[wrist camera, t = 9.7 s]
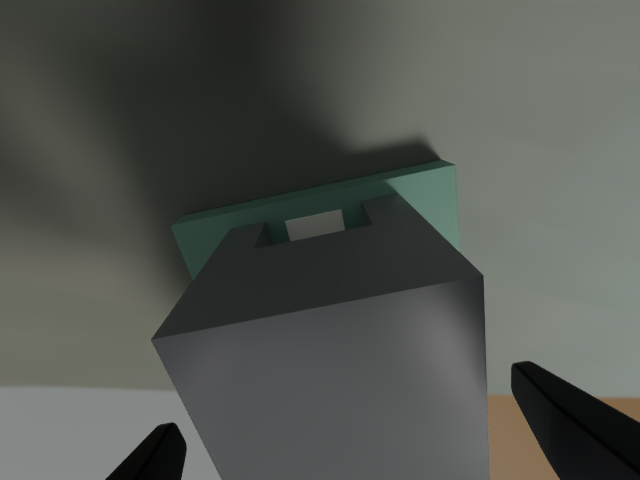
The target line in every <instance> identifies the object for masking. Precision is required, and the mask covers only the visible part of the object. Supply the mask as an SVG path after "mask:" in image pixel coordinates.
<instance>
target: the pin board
mask: <svg viewBox="0 0 640 480" xmlns="http://www.w3.org/2000/svg"><path fill="white" fill-rule="evenodd" d="M395 193H399V194H400V195H401V196H402V197H403V198H404V199H405V200H406V201H407V202H408V203H409V204H410V205H411V206H412V207H413V208H414V209H415V210H416V211H418V212H419V213H420V214H421V215H422V216H423V217H424V218H425V219H426V220H427V221H428V222H429V223H430V224H431V225H432V226H433V227H434V228H435V229H436V230H437V231H438V232H439V233H440V234H441V235H442V236H443V237H444V238H445V239H446V240H447V241H448V242H449V243H450V244H452V245H453V246H454V247H455V248H456V249H457V250H458V251H459V252H460V241H459V224H458V206H457V188H456V170H455V165H454V164H452V163H449V162H447V161H444V160H438V161H434V162H429V163H425V164H420V165H415V166H411V167H406V168H401V169H397V170H392V171H387V172H383V173H378V174H373V175H369V176H364V177H359V178H355V179H350V180H345V181H341V182H336V183H331V184H327V185H322V186H318V187H313V188H308V189H304V190H299V191H294V192H290V193H285V194H280V195H276V196H271V197H266V198H262V199H257V200H252V201H248V202H243V203H238V204H234V205H229V206H225V207H220V208H215V209H211V210H206V211H201V212H197V213H192V214H187V215H183V216H182V217H180V218H179V219H178V220H177V221H175V222H174V223H173V224H172V225H170V227H171V229H172V232H173V234H174V237H175V239H176V241H177V244H178V246H179V249H180V251H181V254H182V256H183V259H184V261H185V263H186V266H187V268H188V271H189V273H190V276H191V278H192V281H193V280H194V279H195V277H196V276H197V274H198V273H199V272H200V270H201V269H202V267H203V266H204V265H205V263H206V262H207V260H208V259H209V258H210V256H211V255H212V253H213V252H214V251H215V249H216V248H217V246H218V245H219V244H220V242H221V241H222V239H223V238H224V237H225V235H226V234H227V232H228V231H229V230H230V228H235V227H240V226H245V225H249V224H254V223H259V222H263V221H266V224H267V227H268V231H269V234H270V237H271V241H272V244H273V245H276V244H281V243H286V242H290V241H295V240H300V239H305V238H310V237H315V236H319V235H324V234H329V233H334V232H339V231H343V230H348V229H353V228H358V227H363V226H365V221H364V216H363V210H362V204H361V201H362V200H367V199H372V198H376V197H381V196H386V195H390V194H395Z"/></svg>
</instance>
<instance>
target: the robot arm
mask: <svg viewBox="0 0 640 480" xmlns="http://www.w3.org/2000/svg"><path fill="white" fill-rule="evenodd" d="M511 389H512V393H513V395H514V397H515V399H516V401H517V403H518V405H519V407H520V409H521V411H522V413H523V415H524V416H525V418H526V420H527V422H528V424H529V426H530V428H531V430H532V432H533V433H534V435H535V437H536V439H537V441H538V443H539V445H540V447H541V449H542V451H543V452H544V454H545V456H546V458H547V460H548V461H549V463H550V464H551V466H552V468H553V469H554V471H555V473H556V474H557V476H558V477H559V478H560V480H640V422H638V421H636V420H634V419H633V418H630V417H629V416H627V415H625V414H624V413H622V412H620V411H618V410H617V409H615V408H613V407H611V406H609V405H608V404H606V403H604V402H602V401H601V400H599V399H597V398H595V397H593V396H592V395H590V394H588V393H586V392H585V391H583V390H581V389H579V388H577V387H576V386H574V385H572V384H570V383H569V382H567V381H565V380H563V379H561V378H560V377H558V376H556V375H554V374H553V373H551V372H549V371H547V370H545V369H544V368H542V367H540V366H538V365H537V364H535V363H533V362H530V361H523V362H517V363H513V364H512V367H511ZM186 450H187V448H186V442H185V440H184V438H183V436H182V434H181V432H180V430H179V428H178V426H177V425H176V424H175V423H167V424H161V425H159V426H157V427H156V428H155V429H154V430H153V431H152V432H151V433H150V434H149V435H148V436H147V437H146V438H145V439H144V440H143V441H142V442H141V443H140V445H138V446H137V448H136V449H135V450H134V451H133V452H132V453H131V454H130V455H129V456H128V457H127V458H126V459H125V460H124V461H123V462H122V463H121V464H120V465H119V466H118V467H117V468H116V469H115V470H114V471H113V472H112V473H111V474H110V475H109V476H108V477H107V478H106V480H181V477H182V472H183V467H184V462H185V456H186Z"/></svg>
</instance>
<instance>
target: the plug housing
mask: <svg viewBox="0 0 640 480" xmlns="http://www.w3.org/2000/svg"><path fill="white" fill-rule="evenodd" d="M361 204H362V210H363V216H364V221H365V226H363V227H358V228H353V229H348V230H343V231H339V232H334V233H329V234H324V235H319V236H315V237H310V238H305V239H300V240H295V241H290V242H286V243H281V244H276V245H273V244H272V241H271V237H270V234H269V231H268V227H267V224H266V221H263V222H259V223H254V224H249V225H245V226H240V227H235V228H230V230H229V231H228V232H227V234H226V235H225V237H224V238H223V239H222V241H221V242H220V244H219V245H218V246H217V248H216V249H215V251H214V252H213V253H212V255H211V256H210V258H209V259H208V260H207V262H206V263H205V265H204V266H203V267H202V269H201V270H200V272H199V273H198V274H197V276H196V277H195V279H194V280H193V281H192V283H191V284H190V286H189V287H188V288H187V290H186V291H185V293H184V294H183V295H182V297H181V298H180V300H179V301H178V303H177V304H176V305H175V307H174V308H173V310H172V311H171V312H170V314H169V315H168V317H167V318H166V319H165V321H164V322H163V324H162V325H161V326H160V328H159V329H158V331H157V332H156V333H155V335H154V336H153V338H152V339H151V341H152V343H153V345H154V347H155V349H156V351H157V353H158V355H159V357H160V359H161V360H162V362H163V364H164V366H165V368H166V370H167V372H168V374H169V376H170V378H171V380H172V382H173V384H174V386H175V388H176V390H177V392H178V394H179V396H180V398H181V400H182V402H183V404H184V406H185V408H186V410H187V412H188V414H189V416H190V418H191V420H192V422H193V424H194V426H195V428H196V430H197V432H198V434H199V436H200V438H201V439H202V441H203V444H204V445H205V448H206V449H207V451H208V453H209V455H210V457H211V459H212V461H213V463H214V465H215V467H216V469H217V471H218V473H219V475H220V477H221V479H222V480H490V479H489V445H488V412H487V379H486V346H485V313H484V280H483V275H482V274H481V273H480V272H479V271H478V270H477V269H476V268H475V267H474V266H473V265H472V264H471V263H470V262H469V261H468V260H467V259H466V258H465V257H464V256H463V255H462V254H461V253H460V252H459V251H458V250H457V249H456V248H455V247H454V246H453V245H452V244H450V243H449V242H448V241H447V240H446V239H445V238H444V237H443V236H442V235H441V234H440V233H439V232H438V231H437V230H436V229H435V228H434V227H433V226H432V225H431V224H430V223H429V222H428V221H427V220H426V219H425V218H424V217H423V216H422V215H421V214H420V213H419V212H418V211H416V210H415V209H414V208H413V207H412V206H411V205H410V204H409V203H408V202H407V201H406V200H405V199H404V198H403V197H402V196H401V195H400V194H399V193H395V194H390V195H386V196H381V197H376V198H372V199H367V200H362V201H361Z"/></svg>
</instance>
